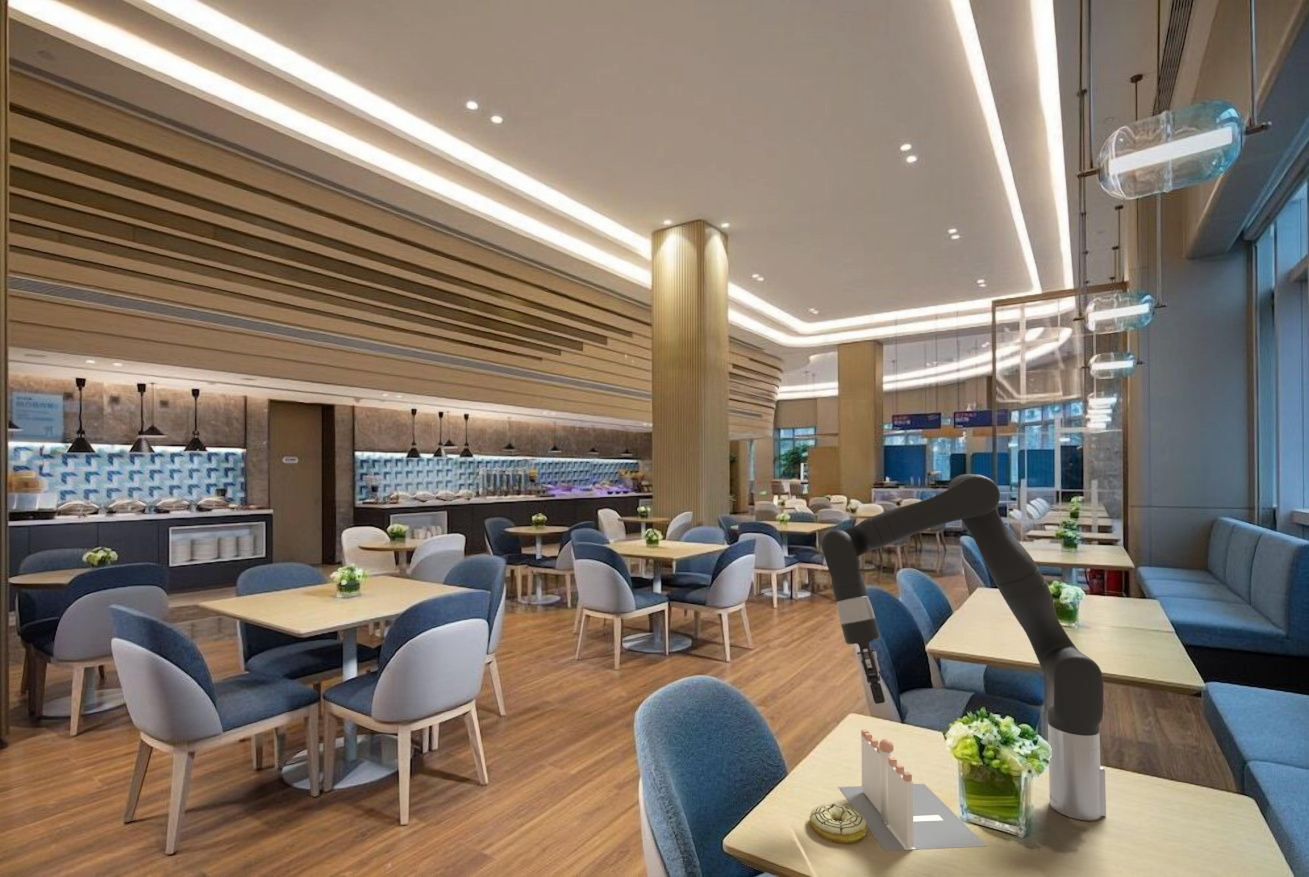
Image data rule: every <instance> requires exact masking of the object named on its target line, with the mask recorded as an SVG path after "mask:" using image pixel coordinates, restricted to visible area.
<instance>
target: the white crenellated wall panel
mask: <svg viewBox="0 0 1309 877" xmlns="http://www.w3.org/2000/svg"><path fill="white" fill-rule="evenodd" d="M860 732H861V733H860V734H861V736H860V737H861V747H860V748H861V786H862V791H863V792H864V794H865V795H866V796H867V797H868V799H869V800H870V801H871V802H872V804H873V805H874V806H875V807H876V809H877V810H878V811H879V812H880V814H881V774H880V748H879V740H878V739H877V738H873V734H872V733H871V732H870V731H869V730H868V729H861V730H860Z"/></svg>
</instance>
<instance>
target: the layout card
mask: <svg viewBox="0 0 1309 877" xmlns="http://www.w3.org/2000/svg"><path fill="white" fill-rule="evenodd" d="M838 789H839V790H840V792H841V793H842V795H843V796H844V797H845V798H846V800H847V801H848V803H849V804H850V805H851V808H852V809H854V810H856V811H858V812H860V813H861V814H862V816H863V817H864V818H865V820H866V826H867V827H866V828H867V829H868V830H869V831H870V832H871V834H872V835H873V837H874V839H876V840H875V841H877V843H879V845H880V846H881V848H882V849H883V851H884V852H894V851H898V852H900V851H915V850H916V851H917V850H936V849H939V850H941V849H955V848H977V847H980V848H981V847H987V844H986V843H985V842H983V841H982V840H981V838H979V837H978V835H977V834H976V833H974V831H973V830H971V829H970V828H969V826H968V825H966V824H965V822H963V821H962V819H960V818H959V817H958V816H957V815H956V814H955V813H954V812H953V810H951V808H949V807H948V806H947V805H946V804H945V803H944V801H942V800H941V799H940V798H939V796H937V795H936V794H935V793H934V792H933V791H932V789H930V788H929V787H928V785H926V784H925V783H913V833H914V847H911V848H907V846H906V845H905V844H904V843H903V841H902V840H901V839H900V838H899V836H898V835H897V834H896V833H895V831H894V830H893V829H892V827H891V826H890V825H889V824H887V823H885V822H882V821H881V814H880V812H879V811H878V810H877V809H876V807H875V806H874V805H873V804H872V802H871V801H870V800H869V799H868V797H867V796H866V795H865V794H864V792H863V791H862V785H860V786H859V785H858V786H855V785H854V786H838Z"/></svg>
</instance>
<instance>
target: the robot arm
mask: <svg viewBox="0 0 1309 877" xmlns="http://www.w3.org/2000/svg"><path fill="white" fill-rule="evenodd" d="M1000 498H1001V493H1000V489H999V486H997V483H995V482H994V480H992V479H991V478H989V477H987V476H985V475H982V474H975V473H974V474H973V473H963V474H960V475H958V476H956V477H954V478H953V479H952V480H951V481H950V482H949V484H948V486H947V489H946V490H945V491H943V492H941V493H939V494H937V495H934V496H932V497H930V498H926V499H923V500H921V501H918V502H914V503H910V504H905V505H901V506H898V507H895V508H893V509H889V510H886V511H884V512H880V513H879V514H876V515H873V516H870V517H867V518H866V519H864V520H862V521H861V522H859V523H858V524H857V525H854V526H851V527H848V528H846V529H844V530H841V529H833V530H830V531H828V532H827V533H826V534H824V536H823V538H822V541H821V550H822V553H823V556H824V559H825V564H826V566H827V569H828V572H829V575H830V578H831V580H830V581H831V586H832V591H833V595H834V598H835V603H836V606H837V607H836V609H837V615H838V618H839V622H840V626H841V629H842V634H843V637H844V640H845V641H844V642H845V643H846V645H848V646H849V645H855V644H856V645H857V646H858V648H859V651H857V653H856V655H857V659H858V661H859V663H860V666H861V670H862V673H863V674H864V675H865V676H866V677H865V678H866V682H867V684H868V686H870V692H871V694H872V698H873V701H874V704H876V705H878V704H883V703H885V701H886V699H885V695H884V692H883V687H882V685H881V682H882V679H881V675H880V674H879V672H880V665H879V662H878V655H877V654H878V653H877V651H876V649H875V648H873V649H872V647H871V643H870V642H872V641H873V642H874V641H878V640H879V639H881V634H880V633H881V632H880V630H879V626H878V624H877V619H876V616H875V613H874V608H873V606H872V602H871V601H870V599H869V596H868V592H867V588H866V584H865V582H864V578H863V575H862V572H860V571H861V570H860V567H859V562H858V557H860V556H862V555H864V554H866V553H868V552H871V551H873V550H877V549H880V548H883V547H885V546H886V547H887V546H888V545H891V544H894V543H896V542H899V541H901V540H904V539H906V538H909V537H911V536H914V535H917V534H920V533H921V532H924V531H926V530H929V529H932V528H935V527H938V526H942V525H944V524H947V523H948V524H949V523H952V522H956V521H960V520H961V522H962V523H963V525H964V526H965V527H966V529H967V530H968V532H969V533H970V536H971V537H972V538H973V540H974V542H975V544H976V547H977V548H978V550H979V553H980V556H981V557H982V560H983V562H984V564H985V566H986V567H987V569H988V572H989V574H990V576H991V577H992V578H991V579H993V581H994V584H995V585H996V587H997V589H998V591H999V593H1000V594H1001V596H1002V598H1003V599H1004V602H1005V603H1006V605H1007V606H1008V607H1009V609H1010V611H1011V612H1012V614H1013V616H1014V617H1015V619H1016V620H1017V622H1018V623H1019V625H1020V626H1021V628H1022V630H1024V632H1025V634H1026V636H1027V638H1028V640H1029V642H1030V644H1031V646H1032V649H1033V651H1034V654H1035V656H1036V658H1037V661H1038V663H1039V666H1040V668H1041V671H1042V673H1043V675H1044V676H1045V678H1046V679H1047V681H1048V682H1050V684H1051V685H1053V706H1050V707H1049V708H1048V710H1047V733H1048V734H1047V736H1048V737H1047V738H1048V744H1049V745H1050V746H1051V748H1052V757H1051V758H1050V761H1049V760H1048V782H1049V783H1048V784H1049V785H1048V787H1049V788H1048V791H1049V794H1048V795H1049V805H1050V807H1051V808H1052V809H1053V810H1054V811H1056V812H1057V813H1060V814H1062V815H1064V816H1065V817H1068V818H1072V819H1076V820H1080V821H1081V820H1082V821H1089V822H1090V821H1097V820H1099V819H1101V818H1102V817H1106V816H1107V797H1106V796H1107V795H1106V770H1105V768H1104V767H1102V766H1101V747H1100V746H1101V745H1100V743H1101V742H1100V738H1101V737H1100V725H1101V722H1102V720H1103V717H1104V699H1105V698H1104V692H1105V690H1104V684H1105V683H1104V677H1103V673H1102V670H1101V668H1100V666H1099V665H1098V664H1097V663H1096V662H1095V661H1094V660H1093V659H1092V658H1091V657H1089V656H1087V655H1085V654H1084V653H1082V652H1081V651H1080V650H1079V649H1078V648H1077V647H1076V645H1075V644H1074V643H1073V641H1072V640H1071V639H1070V637H1069V635H1068V634H1067V633H1066V631H1065V630H1064V627H1063V626H1062V624H1061V622H1060V620H1059V618H1058V615H1057V612H1056V607H1055V603H1054V599H1053V595H1052V593H1051V589H1050V588H1049V585H1048V583H1047V581H1046V579H1045V577H1044V576H1043V573H1042V572H1041V570H1040V568H1039V567H1038V564H1037V563H1036V562H1035V560H1034V559H1033V558H1032V556H1031V555H1030V554H1029V552H1028V551H1027V550H1026V549H1025V547H1024V546H1023V545H1022V543H1020V541H1019V540H1018V539H1017V537H1015V535H1013V533H1012V532H1011V531H1010V530H1009V529H1008V527H1007V526H1006V524H1005V522H1004V521H1003V519H1002V518H1001V516H1000V514H999V512H998V509H997V506H998V505H999V501H1000ZM1049 745H1048V746H1049Z"/></svg>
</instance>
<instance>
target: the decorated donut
mask: <svg viewBox="0 0 1309 877" xmlns="http://www.w3.org/2000/svg"><path fill="white" fill-rule="evenodd" d="M809 821H810V825H811V827H812V828H813V830H814V831H815V832H816V834H817V835H819V836H820V837H821V838H823V839H825V840H827V841H829V842H830V841H831V842H834V843H838V844H853V843H856V842H858V841H860V840H862V839H863V838H864V837H865V835H866V833H867V828H868V827H867V826H866V820H865V818H864V817H863V816H862V814H861V813H860V812H858V811H856V810H854V808H853V807H849V806H847V805H843V804H835V803H831V804H823V805H819V806H817V807H814V808H813V809H812V810H811V812H810V814H809Z"/></svg>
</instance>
